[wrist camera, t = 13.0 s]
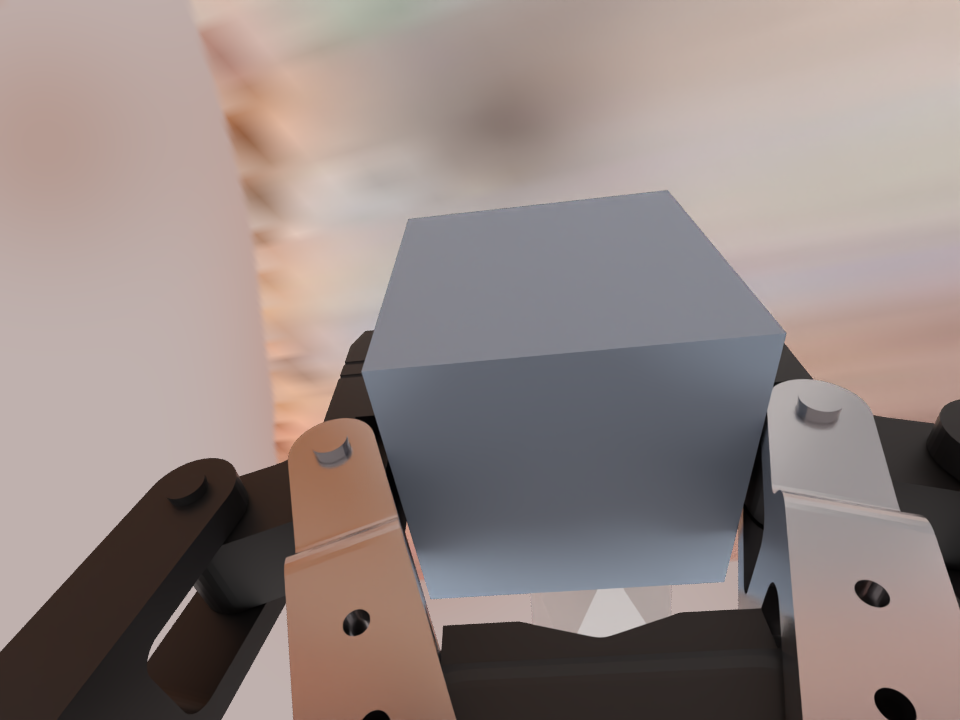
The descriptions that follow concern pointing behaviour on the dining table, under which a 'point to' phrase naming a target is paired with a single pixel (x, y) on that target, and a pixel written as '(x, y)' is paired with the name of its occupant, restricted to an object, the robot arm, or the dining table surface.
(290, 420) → the dining table surface
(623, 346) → the blue cube
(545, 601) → the die
